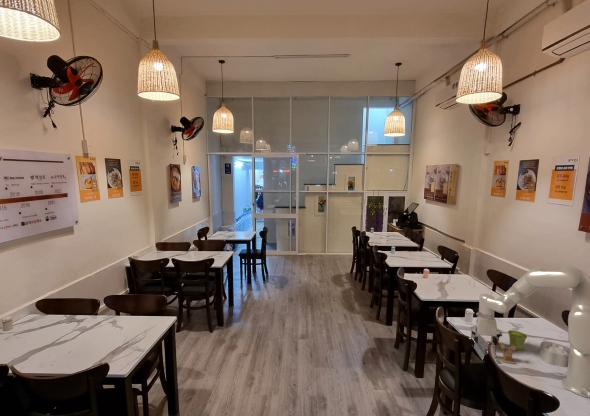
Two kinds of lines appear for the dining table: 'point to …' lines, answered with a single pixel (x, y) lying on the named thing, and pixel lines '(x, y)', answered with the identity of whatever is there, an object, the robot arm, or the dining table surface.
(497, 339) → the post far
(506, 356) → the post near
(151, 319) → the dining table surface
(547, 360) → the lumpy-topped squat cylinder
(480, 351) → the mat
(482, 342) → the rail
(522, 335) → the plant pot
